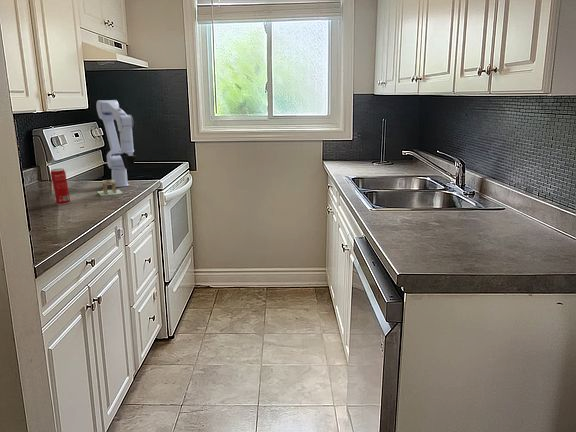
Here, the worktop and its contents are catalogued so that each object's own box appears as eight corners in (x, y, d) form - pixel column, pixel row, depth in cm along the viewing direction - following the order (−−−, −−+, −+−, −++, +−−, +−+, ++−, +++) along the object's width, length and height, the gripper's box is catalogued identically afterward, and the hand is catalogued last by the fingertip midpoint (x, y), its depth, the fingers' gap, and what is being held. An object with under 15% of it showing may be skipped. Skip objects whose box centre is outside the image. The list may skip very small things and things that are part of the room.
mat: (97, 192, 237) (97, 191, 237) (118, 190, 242) (118, 189, 242) (100, 196, 229) (100, 195, 229) (123, 193, 234) (122, 193, 234)
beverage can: (72, 202, 217) (69, 168, 213) (64, 205, 211) (60, 170, 207) (59, 201, 218) (55, 167, 214) (51, 205, 211) (47, 170, 208)
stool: (114, 190, 239) (113, 179, 237) (116, 192, 235) (115, 181, 233) (103, 191, 236) (102, 180, 235) (105, 193, 232) (104, 182, 231)
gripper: (115, 140, 240) (117, 168, 244) (120, 142, 228) (123, 171, 231) (130, 139, 244) (132, 166, 247) (136, 141, 231) (138, 170, 234)
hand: (129, 169), depth 239 cm, fingers open, 7 cm apart
